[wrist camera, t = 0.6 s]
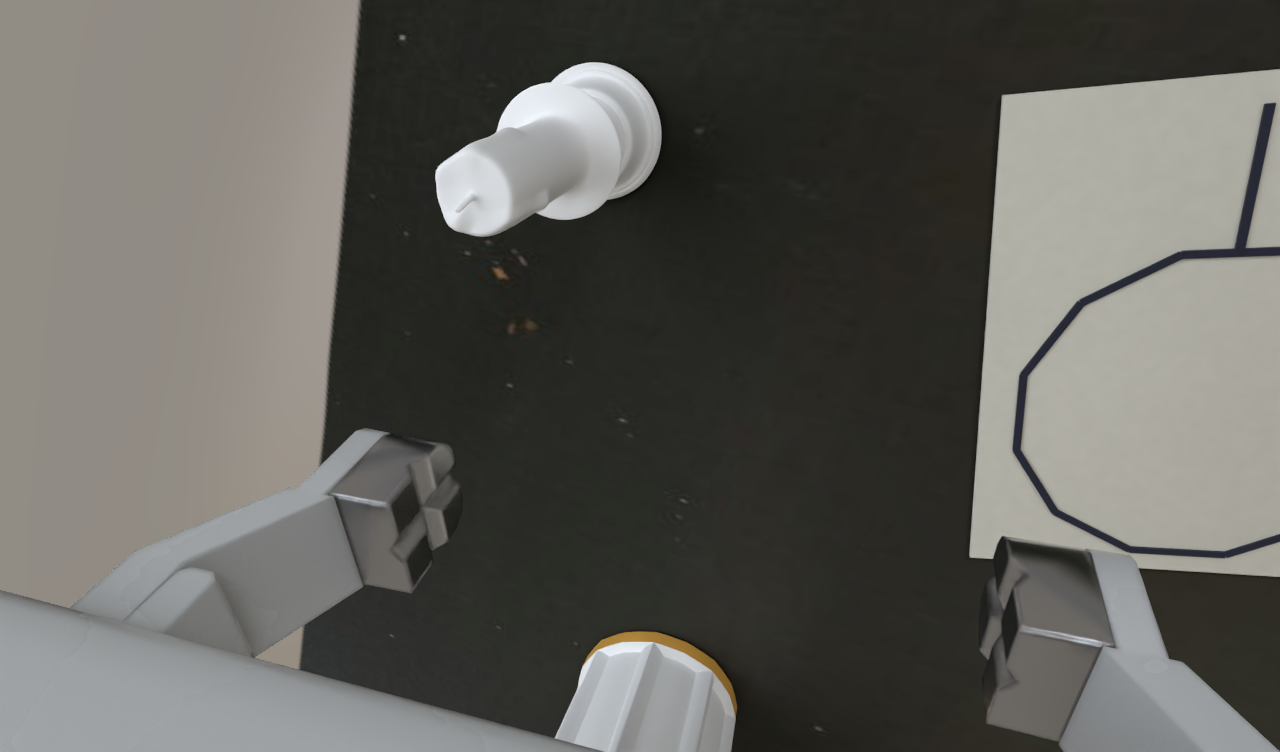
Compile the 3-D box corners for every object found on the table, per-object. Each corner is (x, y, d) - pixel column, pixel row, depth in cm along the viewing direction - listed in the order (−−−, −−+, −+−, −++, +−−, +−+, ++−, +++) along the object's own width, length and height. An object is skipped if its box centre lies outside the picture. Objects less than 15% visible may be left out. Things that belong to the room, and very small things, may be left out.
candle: (607, 224, 33) (487, 330, 22) (513, 137, 32) (343, 204, 22) (689, 128, 30) (596, 197, 20) (587, 31, 29) (436, 49, 19)
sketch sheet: (1001, 95, 27) (1003, 96, 27) (1600, 38, 22) (1608, 39, 22) (969, 554, 35) (969, 558, 35) (1401, 581, 31) (1406, 586, 30)
